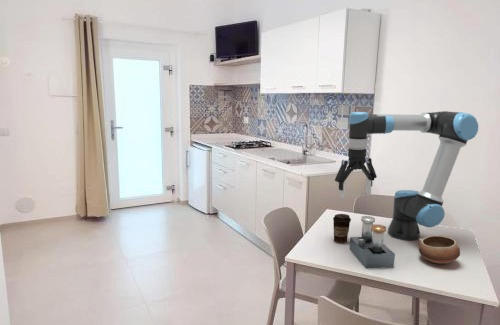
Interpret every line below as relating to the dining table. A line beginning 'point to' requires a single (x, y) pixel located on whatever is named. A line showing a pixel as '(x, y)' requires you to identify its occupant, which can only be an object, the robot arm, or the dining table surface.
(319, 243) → the dining table surface
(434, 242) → the bowl
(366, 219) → the white light bulb
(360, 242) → the knob
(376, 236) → the orange light bulb
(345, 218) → the coffee cup
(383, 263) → the mount
